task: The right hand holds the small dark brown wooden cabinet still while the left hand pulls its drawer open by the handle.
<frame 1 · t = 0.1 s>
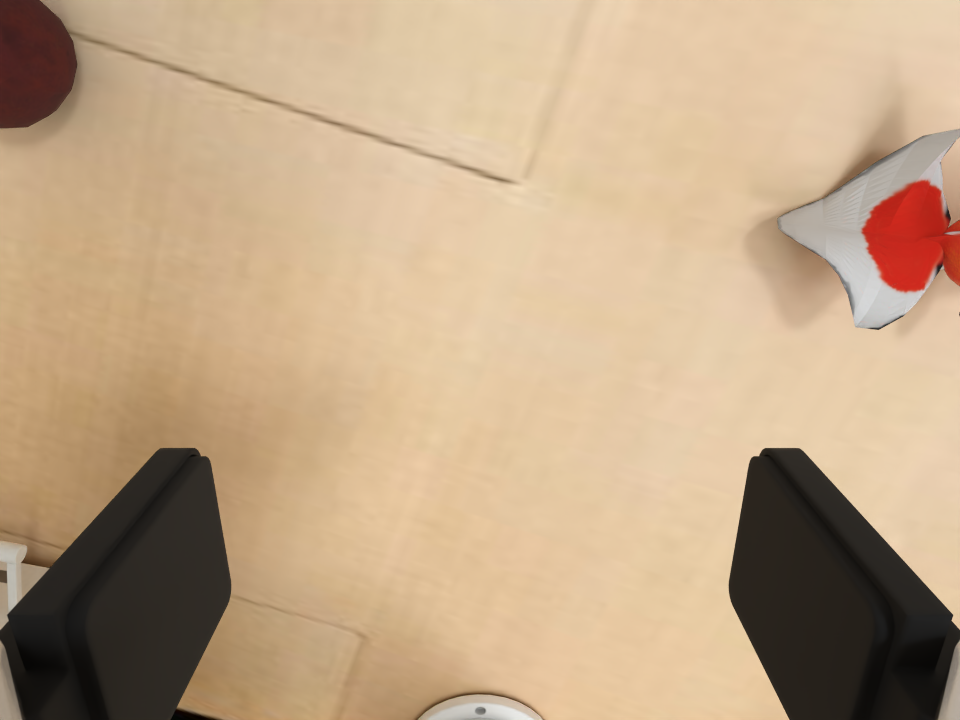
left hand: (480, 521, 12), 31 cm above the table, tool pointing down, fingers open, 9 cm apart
dark maroon ball: (34, 56, 37), on the table
fish: (885, 234, 41), on the table
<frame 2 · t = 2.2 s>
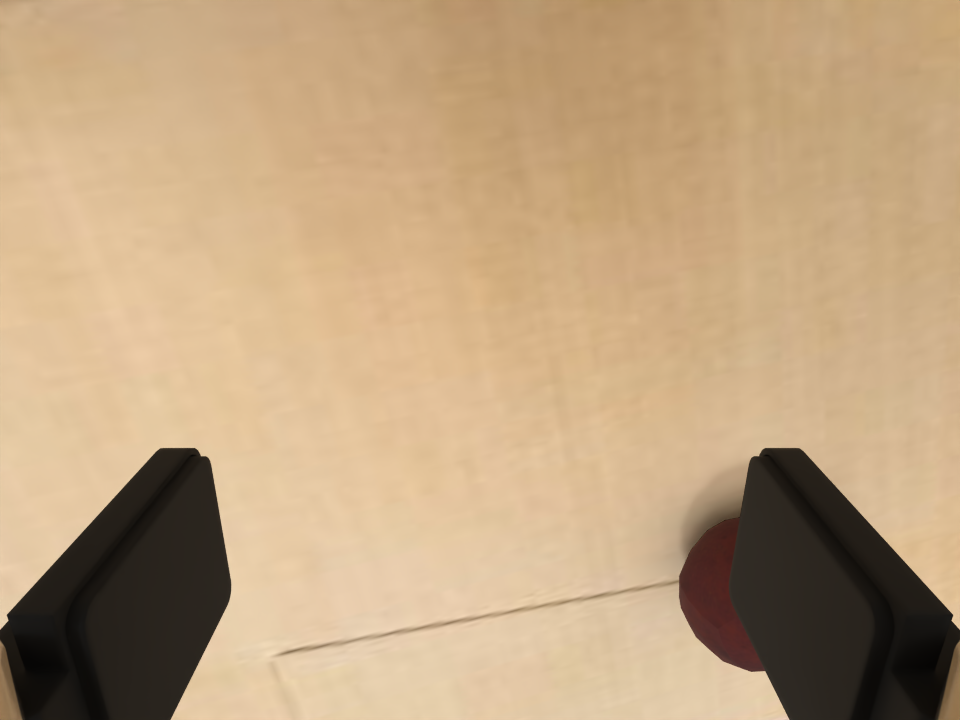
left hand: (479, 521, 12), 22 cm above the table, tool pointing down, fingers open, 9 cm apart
dark maroon ball: (728, 547, 38), on the table
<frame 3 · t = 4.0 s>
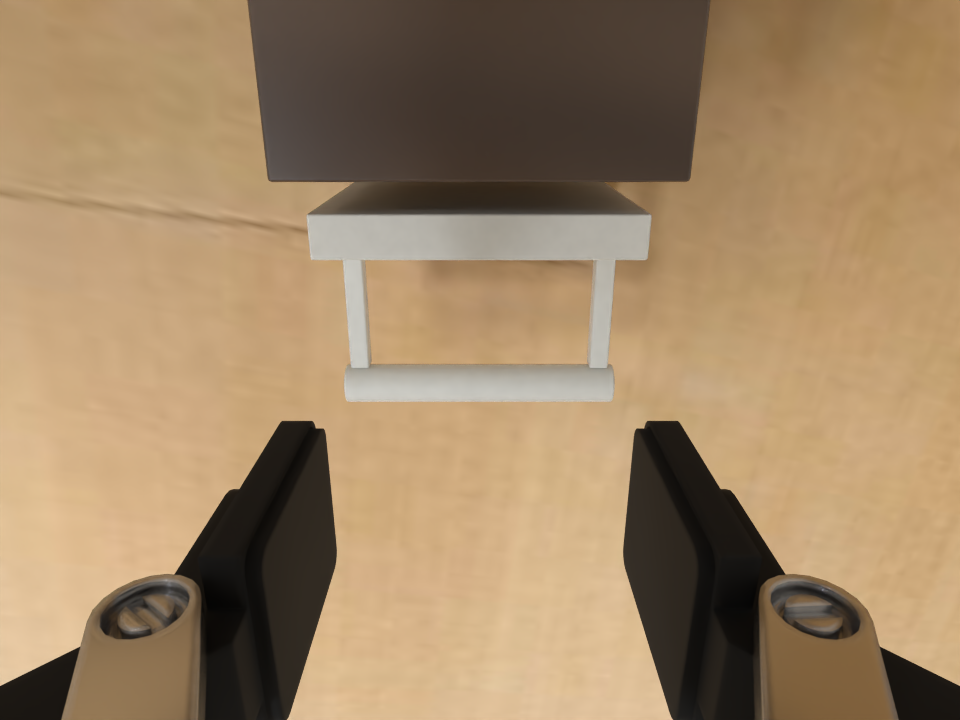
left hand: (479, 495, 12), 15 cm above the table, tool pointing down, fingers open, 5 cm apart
drawer: (479, 124, 20), point 5 cm above the table, slide at 0.9 cm
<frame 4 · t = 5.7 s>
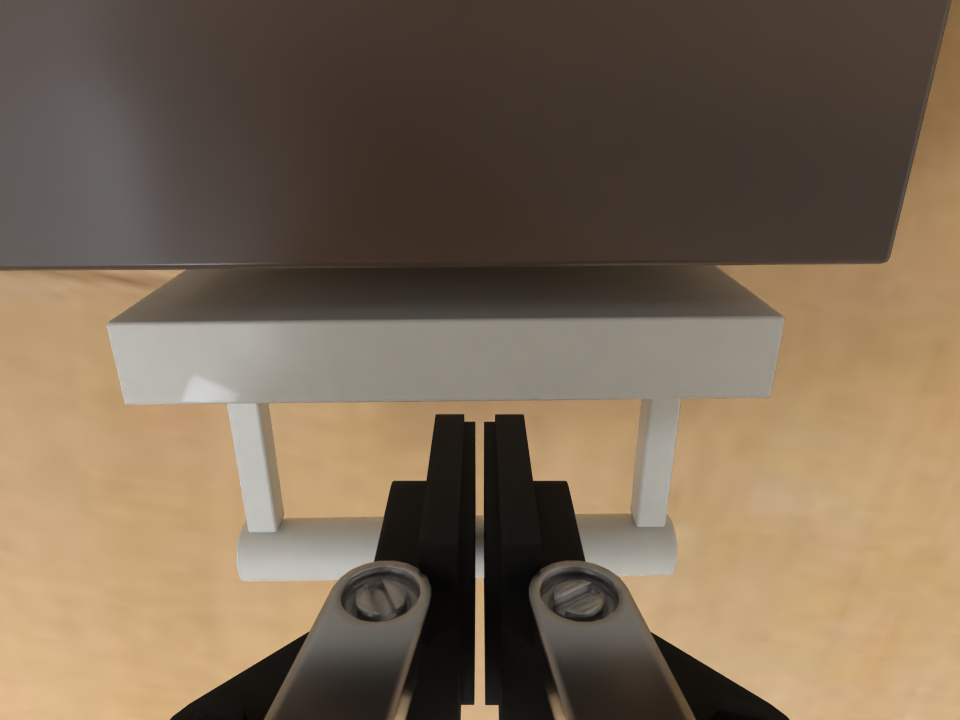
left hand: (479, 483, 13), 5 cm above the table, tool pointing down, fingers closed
drawer: (451, 134, 11), point 5 cm above the table, slide at 0.9 cm, touching left hand
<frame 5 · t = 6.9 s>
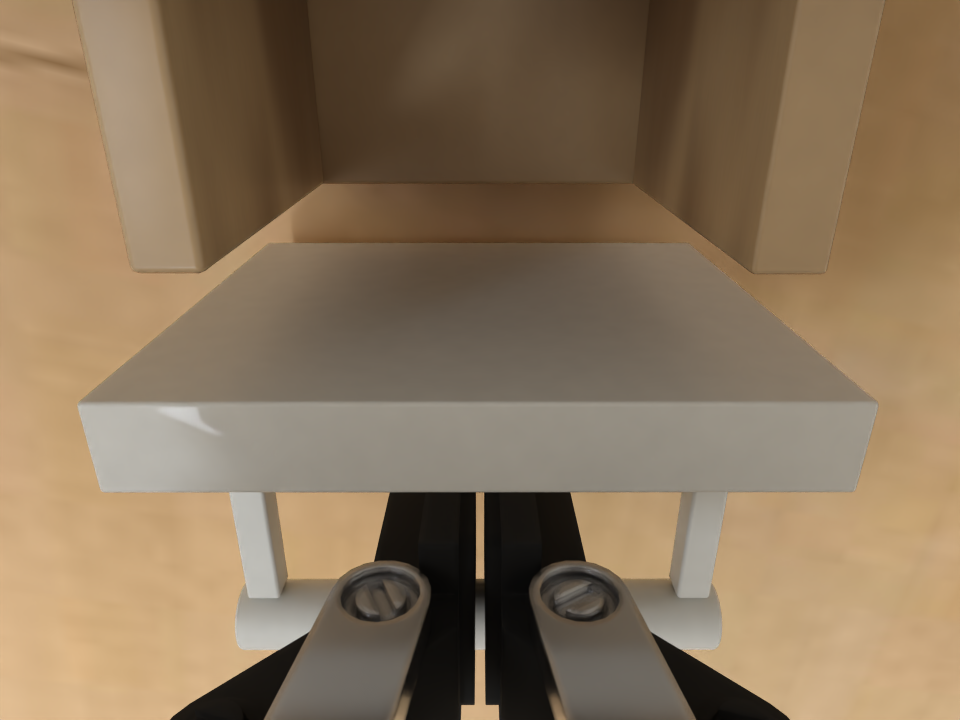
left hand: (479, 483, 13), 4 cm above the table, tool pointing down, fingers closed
drawer: (478, 166, 10), point 4 cm above the table, slide at 6.0 cm, touching left hand
when the right hand's fingers open (4 cm above the table, at t = 8.5 s): cabinet stays where it is, on the table.
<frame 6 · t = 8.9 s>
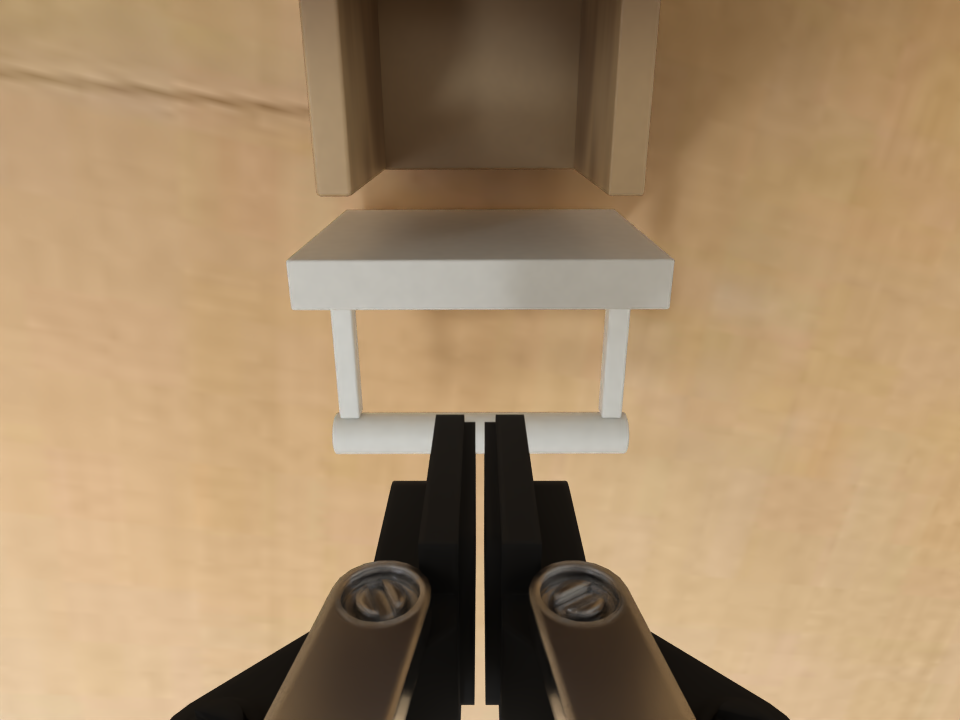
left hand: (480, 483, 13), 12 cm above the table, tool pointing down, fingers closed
drawer: (480, 153, 18), point 5 cm above the table, slide at 6.0 cm
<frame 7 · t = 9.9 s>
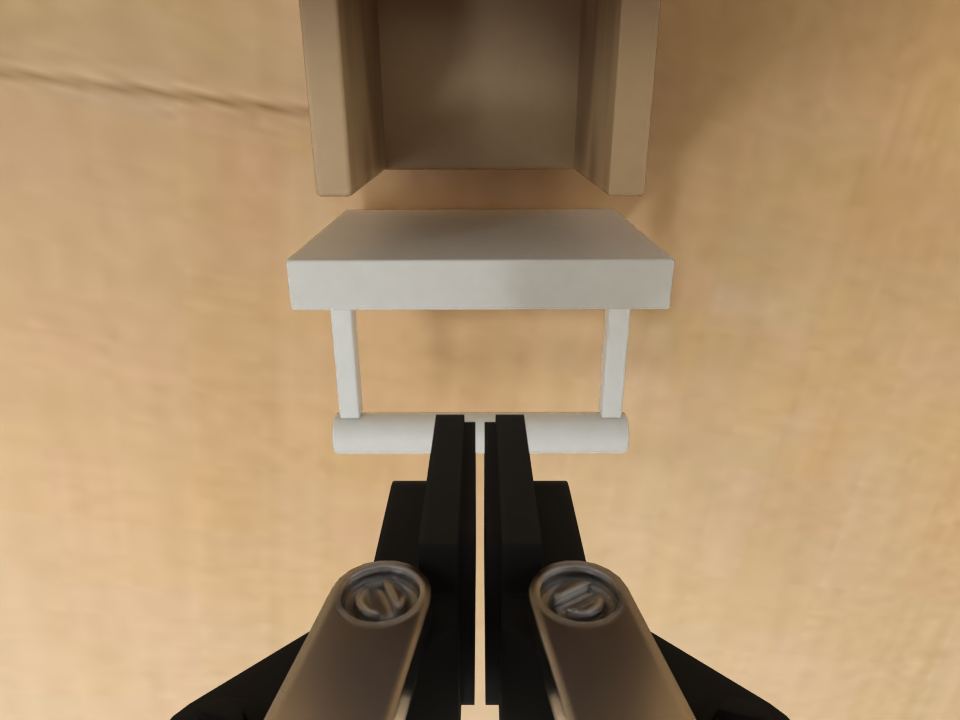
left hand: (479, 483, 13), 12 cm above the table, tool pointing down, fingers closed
drawer: (480, 153, 18), point 5 cm above the table, slide at 6.0 cm
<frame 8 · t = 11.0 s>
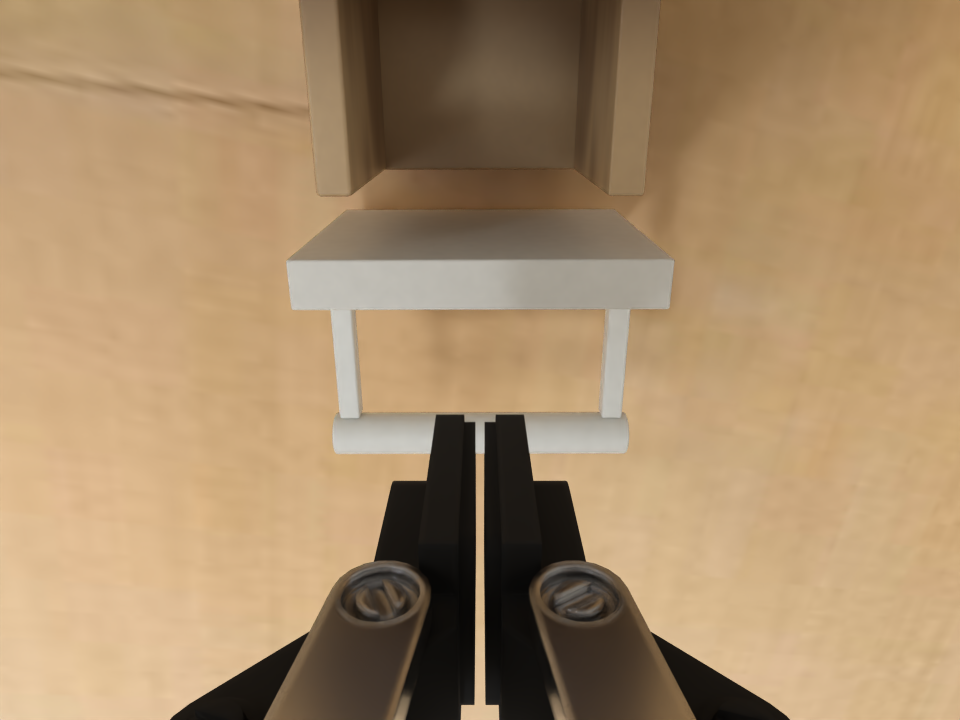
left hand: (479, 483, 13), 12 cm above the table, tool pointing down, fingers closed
drawer: (480, 153, 18), point 5 cm above the table, slide at 6.0 cm
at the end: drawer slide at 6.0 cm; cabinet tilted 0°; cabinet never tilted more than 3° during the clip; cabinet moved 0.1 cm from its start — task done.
